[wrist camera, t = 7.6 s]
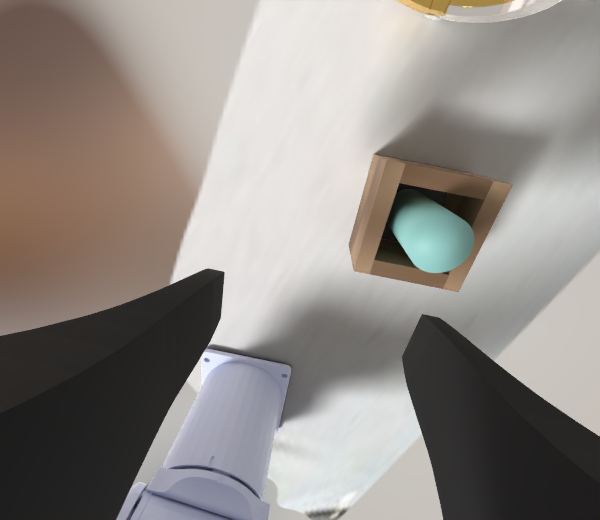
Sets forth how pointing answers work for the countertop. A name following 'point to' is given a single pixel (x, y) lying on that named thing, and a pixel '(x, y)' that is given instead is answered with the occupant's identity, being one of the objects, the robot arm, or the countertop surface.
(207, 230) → the countertop surface
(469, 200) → the bead block
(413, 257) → the teal cylinder
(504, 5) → the ring
